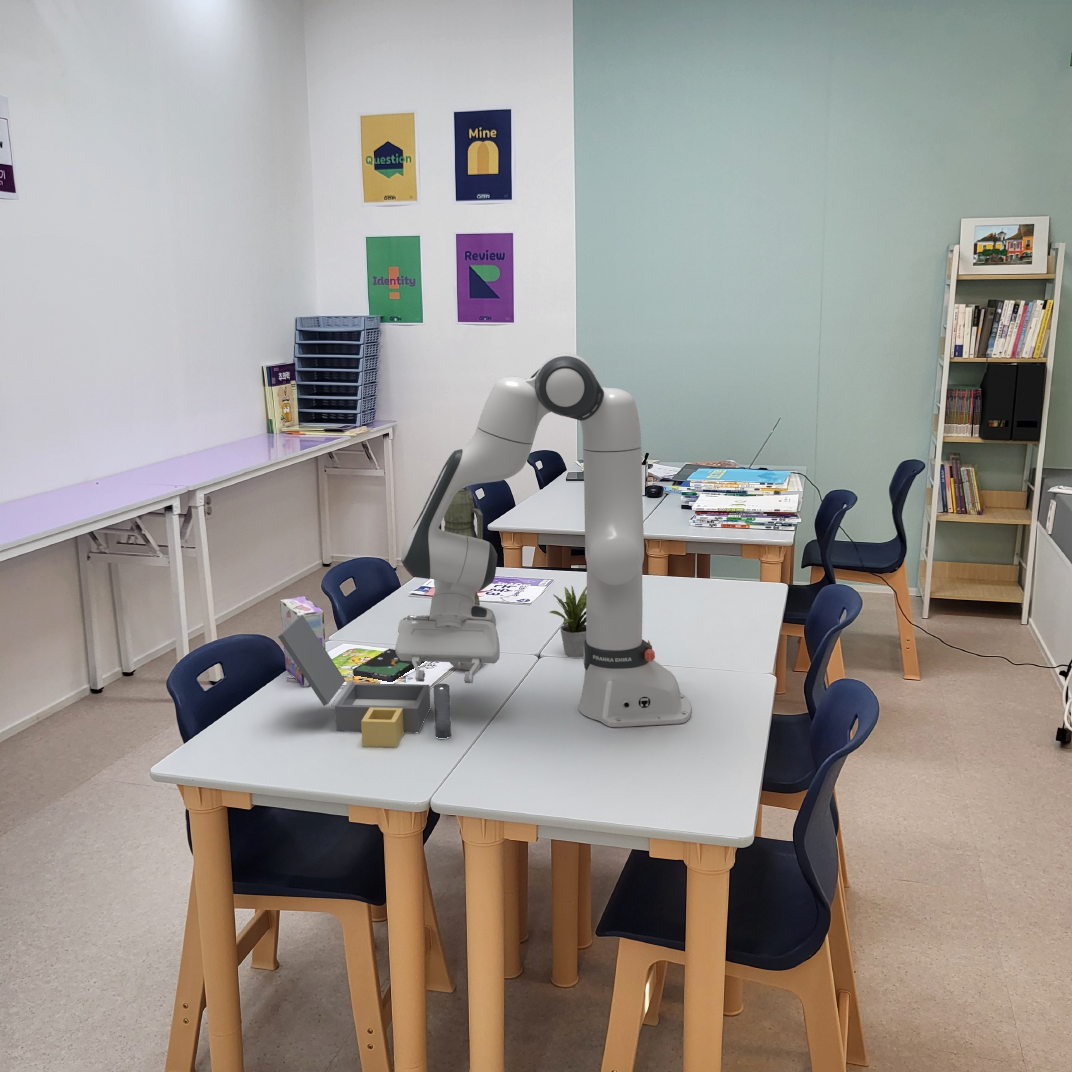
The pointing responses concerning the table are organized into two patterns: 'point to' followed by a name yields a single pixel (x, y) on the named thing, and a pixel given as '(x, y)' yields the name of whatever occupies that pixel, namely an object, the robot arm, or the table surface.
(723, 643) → the table surface
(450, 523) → the thermos
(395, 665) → the disk drive
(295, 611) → the candy box
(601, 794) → the table surface
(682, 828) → the table surface
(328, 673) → the case lid
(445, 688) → the rod
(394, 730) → the frame
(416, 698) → the case
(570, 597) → the house plant
